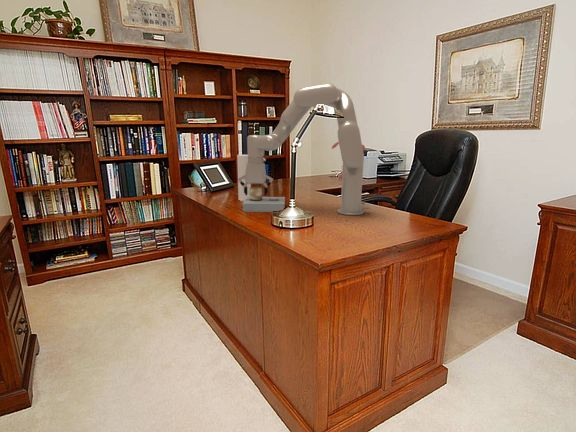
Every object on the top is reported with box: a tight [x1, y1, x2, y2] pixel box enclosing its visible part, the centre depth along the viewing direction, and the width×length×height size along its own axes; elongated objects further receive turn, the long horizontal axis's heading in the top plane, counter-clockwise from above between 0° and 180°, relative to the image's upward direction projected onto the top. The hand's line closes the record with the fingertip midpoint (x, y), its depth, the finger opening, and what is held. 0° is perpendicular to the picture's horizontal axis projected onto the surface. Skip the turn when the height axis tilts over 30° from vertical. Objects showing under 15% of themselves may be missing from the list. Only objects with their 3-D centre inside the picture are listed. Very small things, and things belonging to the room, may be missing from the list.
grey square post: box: [236, 154, 252, 202], centre depth 195 cm, size 7×7×25 cm
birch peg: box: [249, 186, 263, 201], centre depth 177 cm, size 6×6×10 cm
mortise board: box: [242, 196, 286, 213], centre depth 177 cm, size 20×18×4 cm
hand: (255, 195), depth 176 cm, fingers open, 9 cm apart
